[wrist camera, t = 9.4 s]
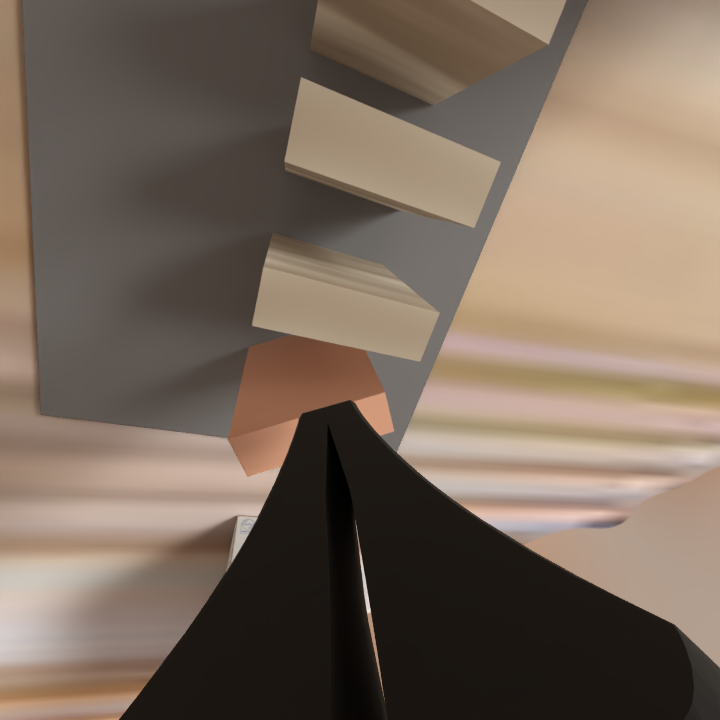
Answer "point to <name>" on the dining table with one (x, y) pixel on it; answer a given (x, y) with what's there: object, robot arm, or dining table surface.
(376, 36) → the domino
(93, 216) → the rubber mat
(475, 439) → the dining table surface
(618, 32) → the dining table surface
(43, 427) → the dining table surface
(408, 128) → the domino
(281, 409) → the domino
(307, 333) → the domino
